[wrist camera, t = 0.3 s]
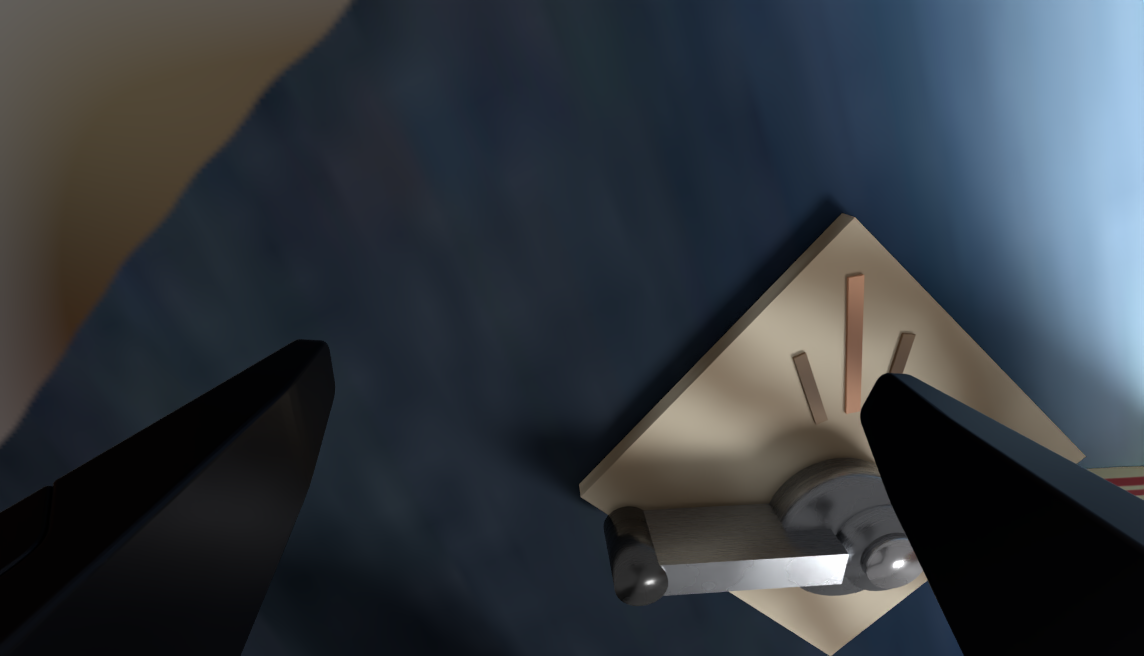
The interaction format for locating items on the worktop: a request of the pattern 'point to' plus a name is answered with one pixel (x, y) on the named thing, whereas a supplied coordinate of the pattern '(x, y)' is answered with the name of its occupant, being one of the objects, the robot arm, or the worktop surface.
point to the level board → (807, 405)
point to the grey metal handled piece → (767, 541)
